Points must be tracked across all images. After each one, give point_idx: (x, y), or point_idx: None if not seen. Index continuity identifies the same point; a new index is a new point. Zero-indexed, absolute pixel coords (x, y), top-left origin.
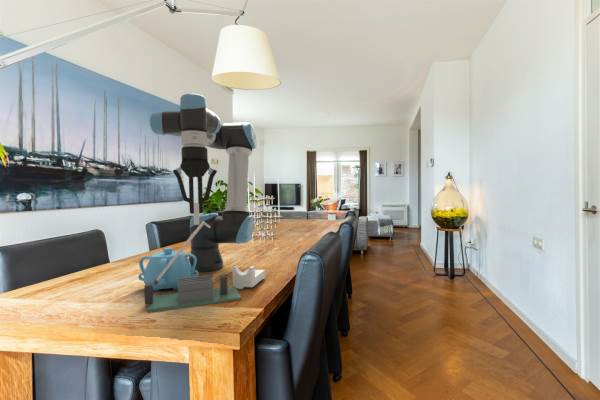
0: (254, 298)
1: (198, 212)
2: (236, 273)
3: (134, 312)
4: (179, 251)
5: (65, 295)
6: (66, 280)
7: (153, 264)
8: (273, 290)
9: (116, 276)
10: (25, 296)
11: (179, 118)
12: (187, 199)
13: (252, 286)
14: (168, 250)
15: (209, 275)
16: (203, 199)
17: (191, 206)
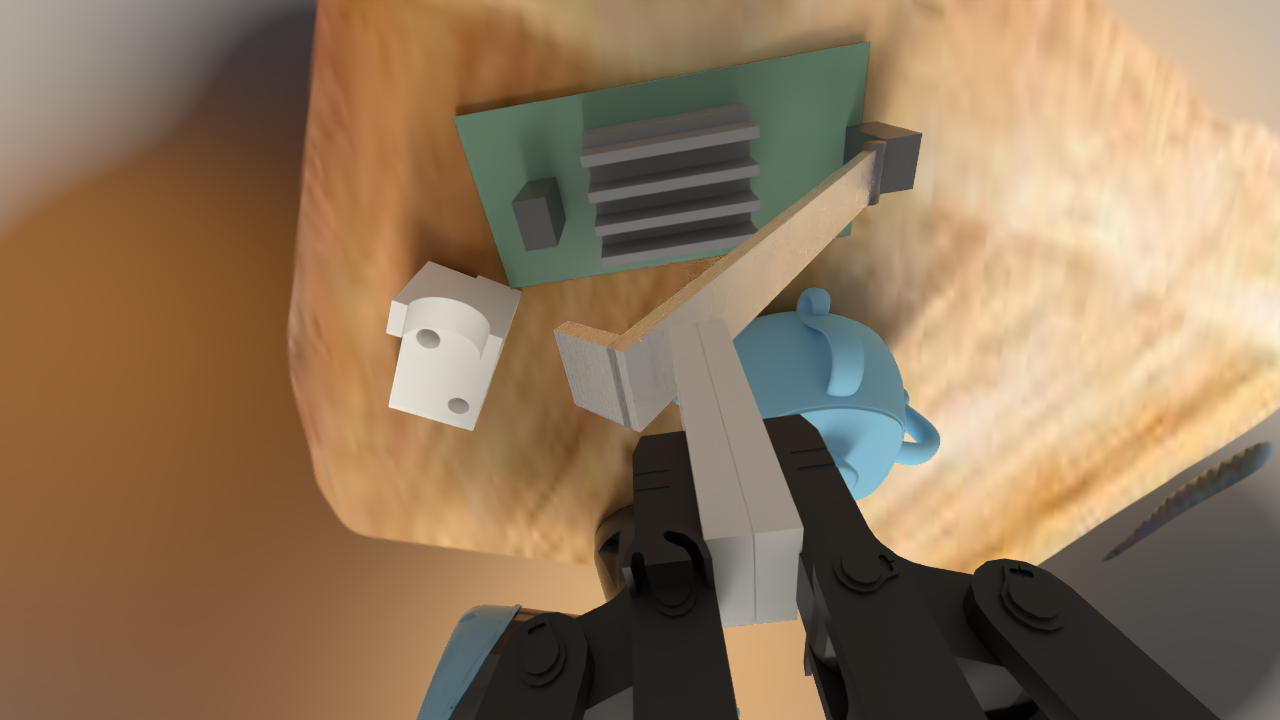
0: (395, 119)
1: (693, 413)
2: (489, 316)
3: (916, 62)
4: (798, 210)
5: (1126, 346)
6: (1096, 493)
7: (882, 381)
8: (326, 217)
9: (948, 503)
10: (1241, 365)
11: None
12: (963, 616)
13: (427, 262)
14: None
15: (608, 259)
16: (619, 647)
17: (821, 498)
